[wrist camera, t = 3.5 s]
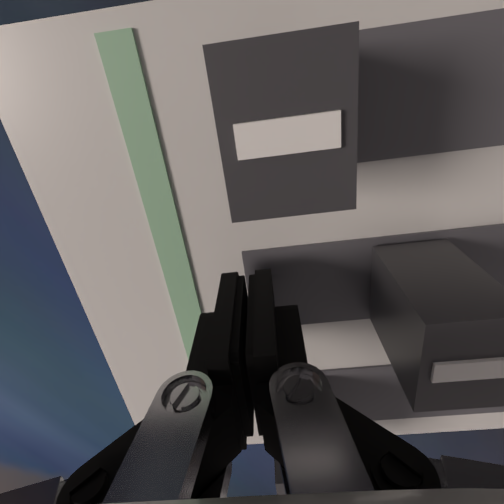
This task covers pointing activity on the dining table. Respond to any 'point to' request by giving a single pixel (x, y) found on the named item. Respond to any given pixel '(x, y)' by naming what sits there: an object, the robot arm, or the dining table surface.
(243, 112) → the block
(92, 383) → the dining table surface
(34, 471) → the dining table surface
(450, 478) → the robot arm
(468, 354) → the block
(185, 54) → the panel
